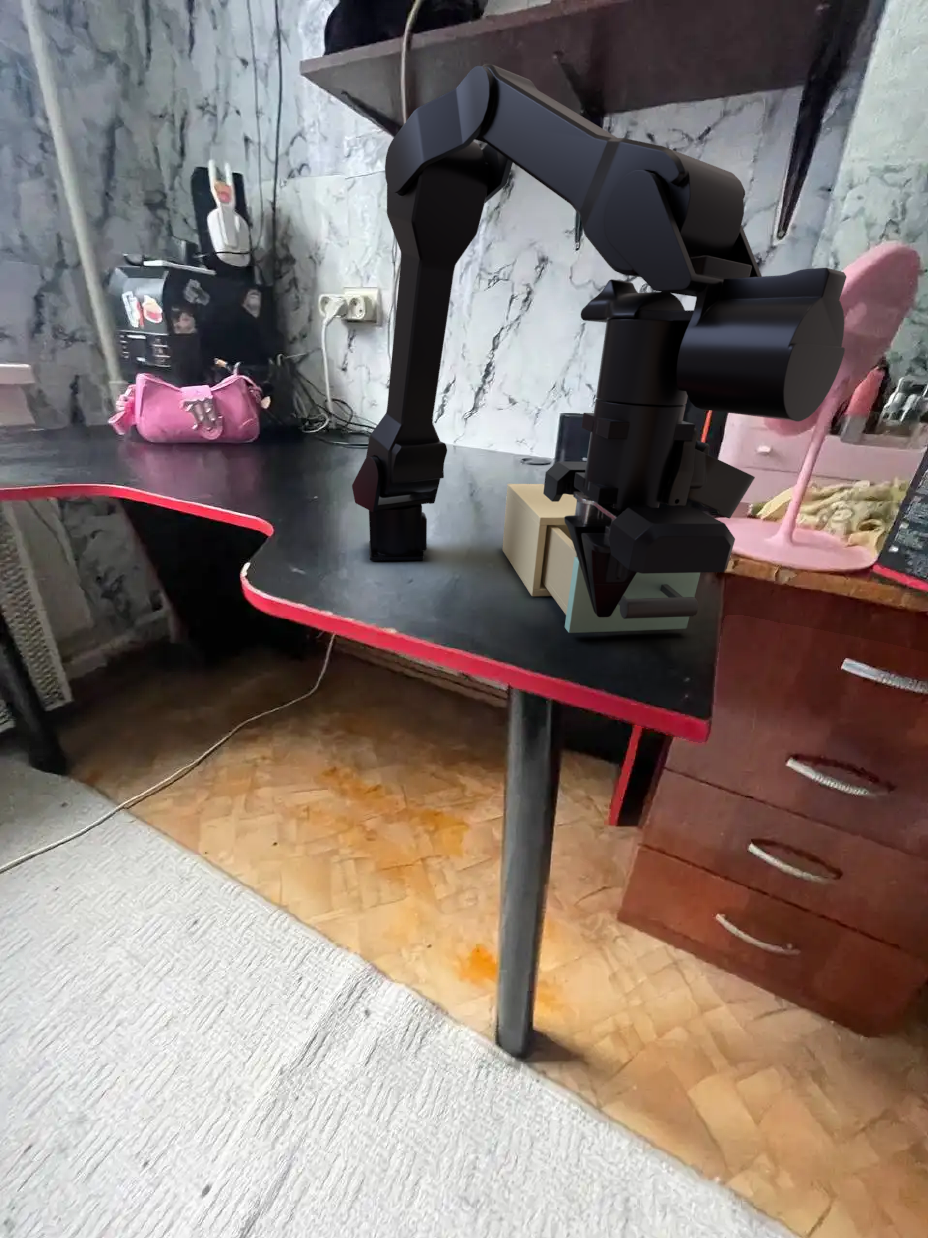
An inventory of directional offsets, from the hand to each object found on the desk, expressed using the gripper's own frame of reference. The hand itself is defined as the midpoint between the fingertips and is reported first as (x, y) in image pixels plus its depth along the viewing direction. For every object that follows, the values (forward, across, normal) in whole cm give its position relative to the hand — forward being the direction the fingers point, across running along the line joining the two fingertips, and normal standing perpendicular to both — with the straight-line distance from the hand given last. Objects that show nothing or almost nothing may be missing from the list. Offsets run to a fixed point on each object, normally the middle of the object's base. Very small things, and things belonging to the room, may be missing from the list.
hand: (602, 615), depth 43 cm
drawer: (+4, +9, -5) cm, 11 cm away
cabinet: (+5, +22, -5) cm, 23 cm away
